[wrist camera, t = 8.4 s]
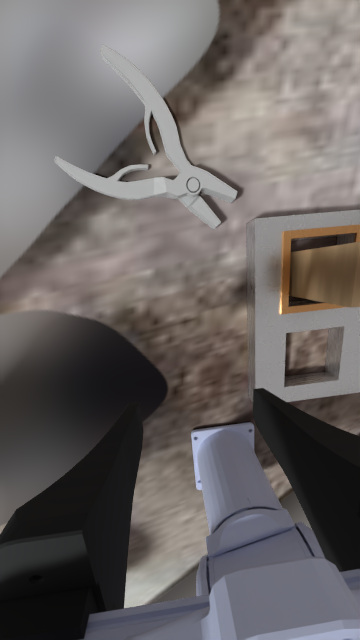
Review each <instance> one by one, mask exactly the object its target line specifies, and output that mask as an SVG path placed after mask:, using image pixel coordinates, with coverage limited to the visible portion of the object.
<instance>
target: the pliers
mask: <svg viewBox="0 0 360 640" xmlns="http://www.w3.org/2000/svg"><path fill="white" fill-rule="evenodd" d="M101 55H102V58H103V61H104V62H105V63H107V64H108V65H109V66H110V67H111V68H112V69H113V70H114V71H115V72H116V73H117V74H118V75H119V76H120V77H121V78H122V79H123V80H124V81H125V82H126V83H127V84H128V85H129V87H131V89H132V90H133V91H134V92H135V94H136V95H137V96H138V98H140V100H141V102H142V103H143V104H144V105H145V119H144V122H145V130H146V137H147V140H148V143H149V146H150V148H151V150H152V152H153V155H156V150H155V148H154V145H153V143H152V140H151V137H150V134H149V122H150V118H151V114H152V115H153V117H154V119H155V121H156V123H157V125H158V128H159V131H160V134H161V137H162V141H163V145H164V148H165V152H166V156H167V157H168V158H169V159H170V161H171V162H172V163H173V164H174V166H175V167H176V168H177V169H178V170H179V172H180V174H179V175H178V176H177V177H176V178H175V179H174V180H171V179H168V178H165V177H158V178H150V179H145V180H140V181H132V182H121V181H120V180H121V178H122V177H123V176H124V175H126V174H128V173H129V172H131V171H137V170H148V165H140V164H139V165H130V166H128V167H126V168H123V169H121V170H120V171H118V172H117V173H116V174H115V175H113V176H111V177H109V178H104V177H101V176H98V175H95V174H92V173H89V172H87V171H85V170H82V169H80V168H78V167H76V166H74V165H72V164H70V163H68V162H66V161H64V160H62V159H60V158H59V157H57V156H56V158H55V160H54V162H55V163H56V164H57V165H58V166H59V167H60V168H61V169H63V170H64V171H65V172H66V173H67V174H68V175H70V176H71V177H72V178H73V179H75V180H76V181H78V182H79V183H81V184H82V185H85V186H87V187H89V188H91V189H93V190H95V191H97V192H99V193H102V194H105V195H108V196H112V197H115V198H119V199H126V200H143V199H147V198H151V197H169V198H172V199H178V198H179V200H180V201H181V202H182V203H183V204H184V206H185V207H186V208H187V209H188V210H190V211H191V212H192V213H193V214H195V215H196V216H197V217H199V218H200V219H201V220H202V221H204V222H205V223H206V224H207V225H209V226H210V227H211V228H212V229H215V228H216V227H217V226H218V225H219V224H220V223H221V221H220V220H219V219H218V217H217V216H216V215H215V214H214V213H213V211H212V210H211V209H210V208H209V206H208V205H207V204H206V203H205V201H204V200H203V199H202V198H201V197H200V196H198V195H199V193H200V191H201V193H204V194H207V195H210V196H212V197H215V198H218V199H221V200H224V201H226V202H229V203H232V202H233V201H234V200H235V198H236V195H237V192H238V191H236V190H235V189H233V188H232V187H230V186H229V185H227V184H226V183H224V182H222V181H221V180H219V179H218V178H216V177H215V176H213V175H212V174H210V173H209V172H207V171H206V170H203V169H200V168H198V167H195V166H192V165H191V164H190V163H189V162H188V160H187V159H186V157H185V155H184V152H183V150H182V147H181V145H180V141H179V136H178V131H177V127H176V124H175V122H174V119H173V117H172V115H171V112H170V111H169V109H168V107H167V105H166V103H165V102H164V100H163V99H162V97H161V96H160V94H159V93H158V91H157V90H156V89H155V87H154V86H153V85H152V83H150V81H149V80H148V78H147V77H145V75H144V74H143V73H142V72H141V71H140V70H139V69H138V68H137V67H135V66H134V65H133V64H132V63H131V62H130V61H128V60H127V59H126V58H124V57H123V56H121V55H120V54H118V53H117V52H115V51H114V50H112V49H110V48H108V47H107V46H105V45H103V46H102V48H101Z"/></svg>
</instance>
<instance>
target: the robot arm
mask: <svg viewBox="0 0 360 640" xmlns="http://www.w3.org/2000/svg"><path fill="white" fill-rule="evenodd" d="M253 418H254V420H255V422H256V425H257V427H258V429H259V431H260V433H261V435H262V436H263V438H264V440H265V441H266V443H267V445H268V446H269V448H270V450H271V451H272V453H273V454H274V456H275V458H276V459H277V461H278V463H279V464H280V466H281V467H282V469H283V471H284V473H285V474H286V476H287V478H288V480H289V482H290V484H291V486H292V488H293V490H294V492H295V494H296V496H297V498H298V500H299V502H300V504H301V506H302V508H303V510H304V512H305V515H306V517H307V519H308V521H309V523H310V525H311V528H312V529H311V528H309V527H307V526H306V525H305V524H304V523H302V522H298V523H295V525H294V523H293V521H292V519H291V517H290V515H289V513H288V511H287V510H286V509H282V506H281V504H280V502H279V500H278V498H277V496H276V494H275V492H274V490H273V488H272V486H271V484H270V482H269V480H268V478H267V476H266V474H265V472H264V470H263V468H262V466H261V464H260V462H259V460H258V458H257V456H256V454H255V452H254V425H253V423H251V422H248V423H241V424H233V425H226V426H219V427H212V428H204V429H197V430H193V431H192V432H191V438H192V448H193V458H194V469H195V479H196V488H197V489H198V490H202V491H203V497H204V503H205V509H206V514H207V520H208V526H209V532H210V535H209V536H207V537H206V544H207V551H208V555H205V556H202V558H201V560H200V564H199V568H198V571H197V577H196V592H197V596H195V597H190V598H184V599H178V600H172V601H166V602H160V603H154V604H148V605H142V606H136V607H130V608H124V598H125V583H126V570H127V557H128V545H129V534H130V523H131V513H132V503H133V495H134V488H135V483H136V478H137V472H138V467H139V461H140V456H141V450H142V441H143V425H142V418H141V411H140V404H139V402H134V403H129V404H128V405H127V407H126V408H125V410H124V411H123V412H122V414H121V415H120V417H119V418H118V419H117V421H116V422H115V423H114V425H113V426H112V427H111V429H110V430H109V431H108V432H107V433H106V435H105V436H104V437H103V438H102V439H101V440H100V442H99V443H98V444H97V445H96V446H95V447H94V448H93V449H92V450H91V451H90V452H89V454H87V455H86V456H85V457H84V458H83V459H82V460H81V461H80V462H79V463H77V464H76V465H75V466H74V467H73V468H72V469H71V470H70V471H69V472H67V473H66V474H65V475H64V476H63V477H61V478H60V479H59V480H57V481H56V482H55V483H53V484H52V485H51V486H50V487H48V488H47V489H46V490H44V491H43V492H42V493H40V494H38V495H37V496H36V497H34V498H33V499H31V500H30V501H28V502H27V503H25V504H24V505H23V506H21V507H19V508H18V509H16V511H15V513H14V514H13V515H12V517H11V518H10V520H9V521H8V523H7V524H6V526H5V528H4V529H3V531H2V533H1V534H0V640H360V436H357V435H354V434H352V433H349V432H347V431H344V430H341V429H339V428H336V427H334V426H332V425H330V424H327V423H325V422H323V421H321V420H319V419H317V418H315V417H313V416H311V415H309V414H307V413H305V412H303V411H301V410H299V409H298V408H296V407H294V406H292V405H291V404H289V403H287V402H286V401H284V400H282V399H281V398H279V397H277V396H276V395H274V394H272V393H271V392H269V391H267V390H266V389H264V388H258V389H253ZM250 429H251V430H250ZM194 437H196V438H194Z"/></svg>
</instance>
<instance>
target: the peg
mask: <svg viewBox="0 0 360 640" xmlns="http://www.w3.org/2000/svg"><path fill="white" fill-rule="evenodd" d="M289 296H294V297H299V298H304V299H309V300H314V301H319V302H324V303H330V304H335V305H340V306H345V307H350V308H353V307H360V242H355V243H348V244H342V245H335V246H329V247H322V248H316V249H309V250H302V251H296V252H291V255H290V280H289Z"/></svg>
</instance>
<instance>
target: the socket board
mask: <svg viewBox="0 0 360 640" xmlns="http://www.w3.org/2000/svg"><path fill="white" fill-rule="evenodd" d="M246 237H247V327H248V396H249V398H250V399H251V400H252V402H253V389H258V388H264V389H266V390H267V391H269V392H271V393H272V394H274V395H276V396H277V397H279V398H281V399H282V400H284V401H286V402H291V401H299V400H306V399H314V398H321V397H329V396H336V395H344V394H351V393H359V392H360V307H353V308H350V307H345V306H340V305H335V304H330V303H324V302H319V301H314V300H304V301H295V302H289V280H290V255H291V241H295V240H306V239H317V238H327V237H337V245H342V244H348V243H355V242H360V210H349V211H337V212H325V213H314V214H302V215H290V216H278V217H267V218H255V219H254V220H252V221H250V222H248V223H247V224H246ZM325 328H329V331H328V342H327V353H326V363H325V372H317V373H309V374H301V375H293V376H285V351H286V333H290V332H299V331H307V330H316V329H325ZM284 376H285V377H284Z"/></svg>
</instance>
